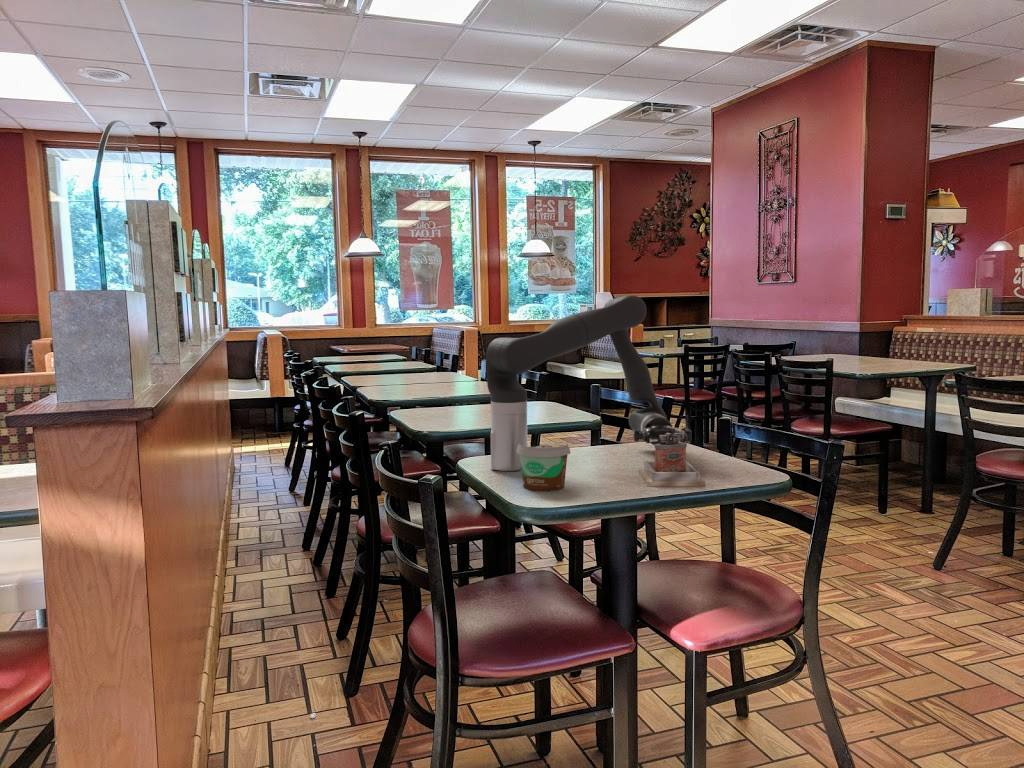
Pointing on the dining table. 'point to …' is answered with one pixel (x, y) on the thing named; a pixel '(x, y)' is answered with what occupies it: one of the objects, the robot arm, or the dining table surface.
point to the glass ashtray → (670, 476)
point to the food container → (543, 467)
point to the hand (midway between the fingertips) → (666, 439)
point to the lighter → (670, 453)
